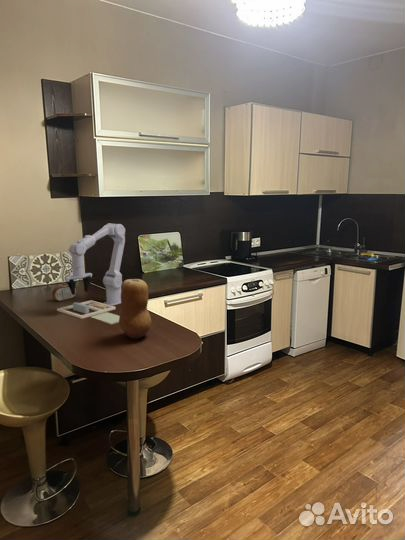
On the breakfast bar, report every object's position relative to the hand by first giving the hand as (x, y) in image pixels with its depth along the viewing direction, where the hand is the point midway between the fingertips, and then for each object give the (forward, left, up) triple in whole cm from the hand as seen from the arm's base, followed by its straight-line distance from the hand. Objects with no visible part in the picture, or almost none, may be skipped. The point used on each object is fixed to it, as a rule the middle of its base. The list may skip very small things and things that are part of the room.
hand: (79, 292), depth 203 cm
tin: (-9, -28, -10) cm, 31 cm away
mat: (-2, +20, -10) cm, 23 cm away
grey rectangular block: (0, 0, -10) cm, 10 cm away
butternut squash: (+7, +49, -10) cm, 51 cm away
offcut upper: (-10, 0, -10) cm, 14 cm away
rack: (-3, 0, -10) cm, 11 cm away
